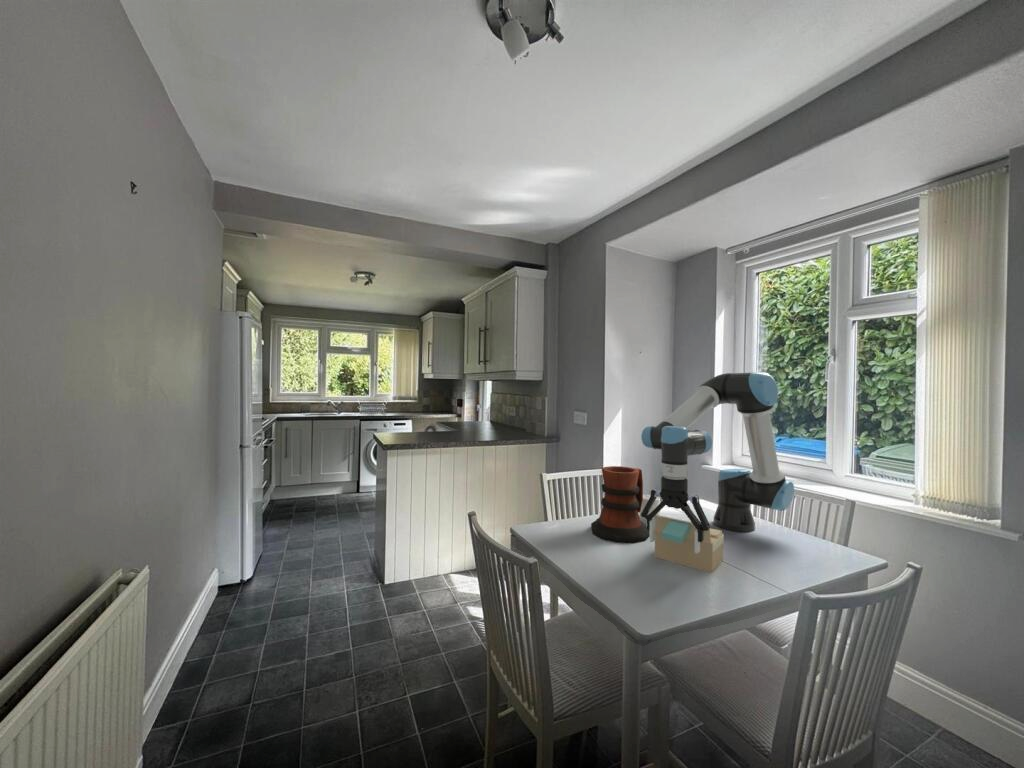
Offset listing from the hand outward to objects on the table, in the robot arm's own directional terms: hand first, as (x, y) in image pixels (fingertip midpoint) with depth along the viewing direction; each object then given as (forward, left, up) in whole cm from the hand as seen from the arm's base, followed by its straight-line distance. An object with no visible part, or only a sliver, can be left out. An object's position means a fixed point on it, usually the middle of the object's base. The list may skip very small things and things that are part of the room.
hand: (674, 546), depth 129 cm
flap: (-7, 0, +4) cm, 8 cm away
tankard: (-23, -28, -8) cm, 37 cm away
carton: (-14, 0, -8) cm, 16 cm away
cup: (-44, -27, -8) cm, 52 cm away
